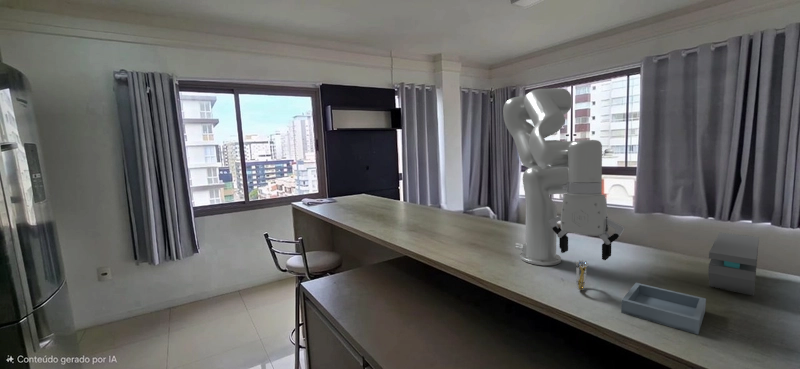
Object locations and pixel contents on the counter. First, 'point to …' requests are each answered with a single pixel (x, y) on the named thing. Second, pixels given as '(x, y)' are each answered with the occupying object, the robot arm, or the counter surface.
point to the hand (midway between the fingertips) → (584, 255)
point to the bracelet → (583, 274)
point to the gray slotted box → (734, 263)
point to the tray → (665, 307)
